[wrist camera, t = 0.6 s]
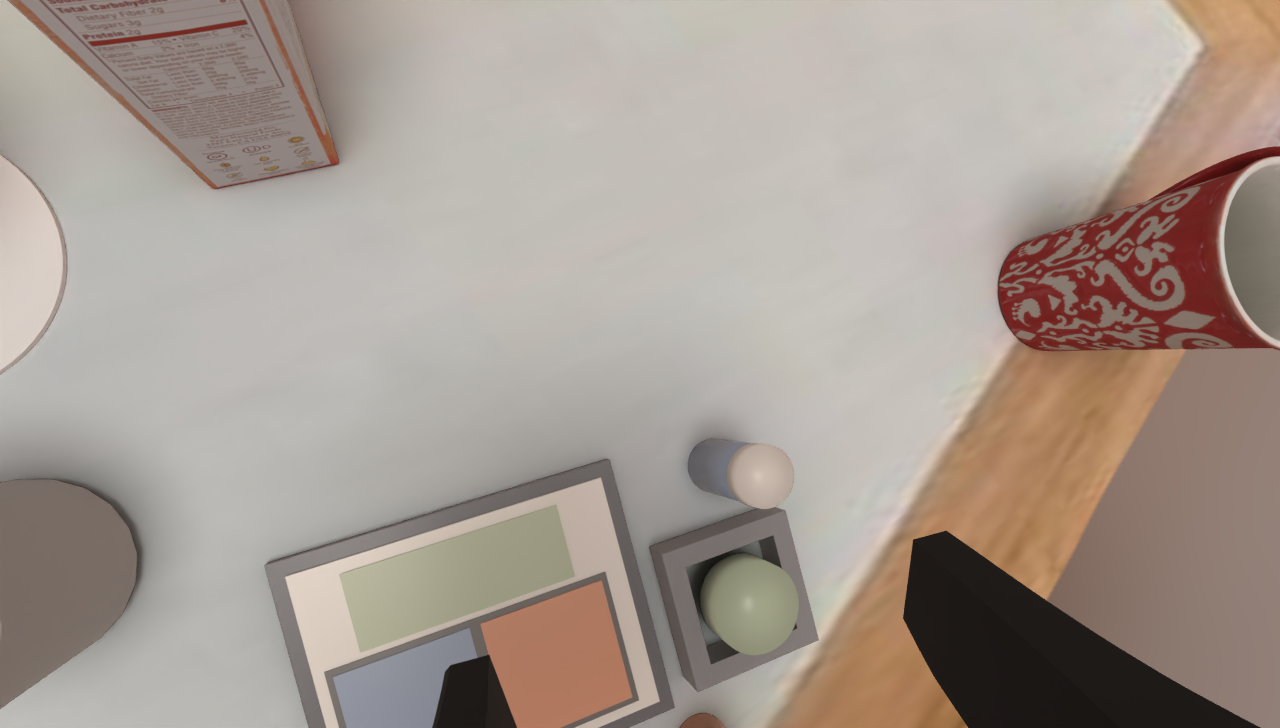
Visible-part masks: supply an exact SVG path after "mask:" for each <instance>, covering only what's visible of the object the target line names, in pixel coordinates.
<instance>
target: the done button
mask: <svg viewBox="0 0 1280 728" xmlns="http://www.w3.org/2000/svg"><path fill="white" fill-rule="evenodd" d="M700 608H701V613H702V616H703V618H704V621H705V623H706V624H707V626H708V627H709V628H710V630H711V631H712V632H713V633H715V634H716V635H717V636H718V637H720V638H721V639H722V640H723V641H724V642H726V643H727V644H728V645H729V646H731V647H732V648H733V649H735V650H736V651H738V652H741V653H743V654H747V655H761V654H765V653H768V652H771V651H773V650H775V649H776V648H777V647H779V646H780V645H781V644H782V643H783V642H784V641H785V640H786V639H787V638H788V637H789V635H790V634H791V632H792V630H793V628H794V626H795V623H796V620H797V617H798V611H799V600H798V594H797V590H796V587H795V585H794V583H793V581H792V579H791V578H790V576H789V575H788V574H787V573H786V572H785V571H784V570H783V569H781V568H780V567H778V566H776V565H774V564H772V563H770V562H768V561H766V560H763V559H761V558H759V557H757V556H755V555H752V554H747V553H738V554H733V555H729V556H727V557H725V558H723V559H722V560H720V561H719V562H717V563H716V564H715V565H714V566H713V567H712V568H711V570H710V571H709V572H708V574H707V576H706V577H705V580H704V582H703V585H702V588H701V593H700Z"/></svg>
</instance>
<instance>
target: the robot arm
mask: <svg viewBox="0 0 1280 728" xmlns="http://www.w3.org/2000/svg"><path fill="white" fill-rule="evenodd" d="M903 619H904V621H905V623H906V625H907V627H908V629H909V630H910V632H911V634H912V636H913V638H914V640H915V642H916V644H917V646H918V648H919V650H920V652H921V654H922V655H923V657H924V659H925V661H926V663H927V665H928V666H929V668H930V670H931V672H932V674H933V676H934V677H935V679H936V680H937V682H938V683H939V685H940V686H941V688H942V689H943V691H944V692H945V694H946V695H947V697H948V698H949V700H950V701H951V703H952V704H953V706H954V707H955V709H956V710H957V712H958V713H959V715H960V716H961V718H962V719H963V720H964V722H965V723H966V725H967V726H968V728H1260V727H1258V726H1256V725H1254V724H1252V723H1250V722H1248V721H1246V720H1245V719H1242V718H1241V717H1239V716H1237V715H1235V714H1233V713H1232V712H1230V711H1228V710H1226V709H1224V708H1222V707H1220V706H1219V705H1216V704H1215V703H1213V702H1211V701H1209V700H1207V699H1206V698H1204V697H1202V696H1200V695H1198V694H1196V693H1194V692H1193V691H1191V690H1189V689H1187V688H1185V687H1184V686H1182V685H1180V684H1178V683H1177V682H1175V681H1173V680H1171V679H1170V678H1168V677H1166V676H1164V675H1163V674H1161V673H1159V672H1158V671H1156V670H1154V669H1153V668H1151V667H1149V666H1148V665H1146V664H1144V663H1143V662H1141V661H1140V660H1138V659H1136V658H1135V657H1133V656H1131V655H1130V654H1128V653H1126V652H1125V651H1123V650H1121V649H1120V648H1118V647H1116V646H1115V645H1113V644H1112V643H1110V642H1109V641H1107V640H1106V639H1104V638H1102V637H1101V636H1099V635H1098V634H1096V633H1094V632H1093V631H1091V630H1090V629H1089V628H1087V627H1085V626H1084V625H1082V624H1081V623H1079V622H1078V621H1076V620H1075V619H1073V618H1072V617H1070V616H1069V615H1067V614H1066V613H1064V612H1063V611H1061V610H1060V609H1058V608H1057V607H1055V606H1054V605H1052V604H1051V603H1049V602H1048V601H1046V600H1045V599H1043V598H1042V597H1040V596H1039V595H1038V594H1036V593H1035V592H1033V591H1032V590H1030V589H1029V588H1027V587H1026V586H1024V585H1023V584H1022V583H1020V582H1019V581H1017V580H1016V579H1014V578H1013V577H1012V576H1010V575H1009V574H1007V573H1006V572H1004V571H1003V570H1002V569H1000V568H999V567H997V566H996V565H994V564H993V563H992V562H990V561H989V560H987V559H986V558H985V557H983V556H982V555H980V554H979V553H977V552H976V551H975V550H973V549H972V548H970V547H969V546H968V545H966V544H965V543H963V542H962V541H960V540H959V539H957V538H956V537H955V536H953V535H952V534H950V533H949V532H947V531H944V532H940V533H936V534H932V535H929V536H925V537H921V538H918V539H914V540H913V546H912V554H911V561H910V569H909V577H908V584H907V592H906V600H905V607H904V615H903ZM432 728H517V726H516V723H515V721H514V718H513V716H512V713H511V710H510V708H509V705H508V702H507V700H506V697H505V694H504V692H503V689H502V687H501V684H500V681H499V679H498V676H497V673H496V671H495V668H494V666H493V663H492V660H491V658H490V655H486V656H482V657H479V658H475V659H471V660H468V661H464V662H460V663H456V664H453V665H450V666H449V667H448V669H447V670H446V671H445V674H444V679H443V684H442V689H441V694H440V698H439V702H438V706H437V711H436V715H435V719H434V723H433V726H432Z"/></svg>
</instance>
